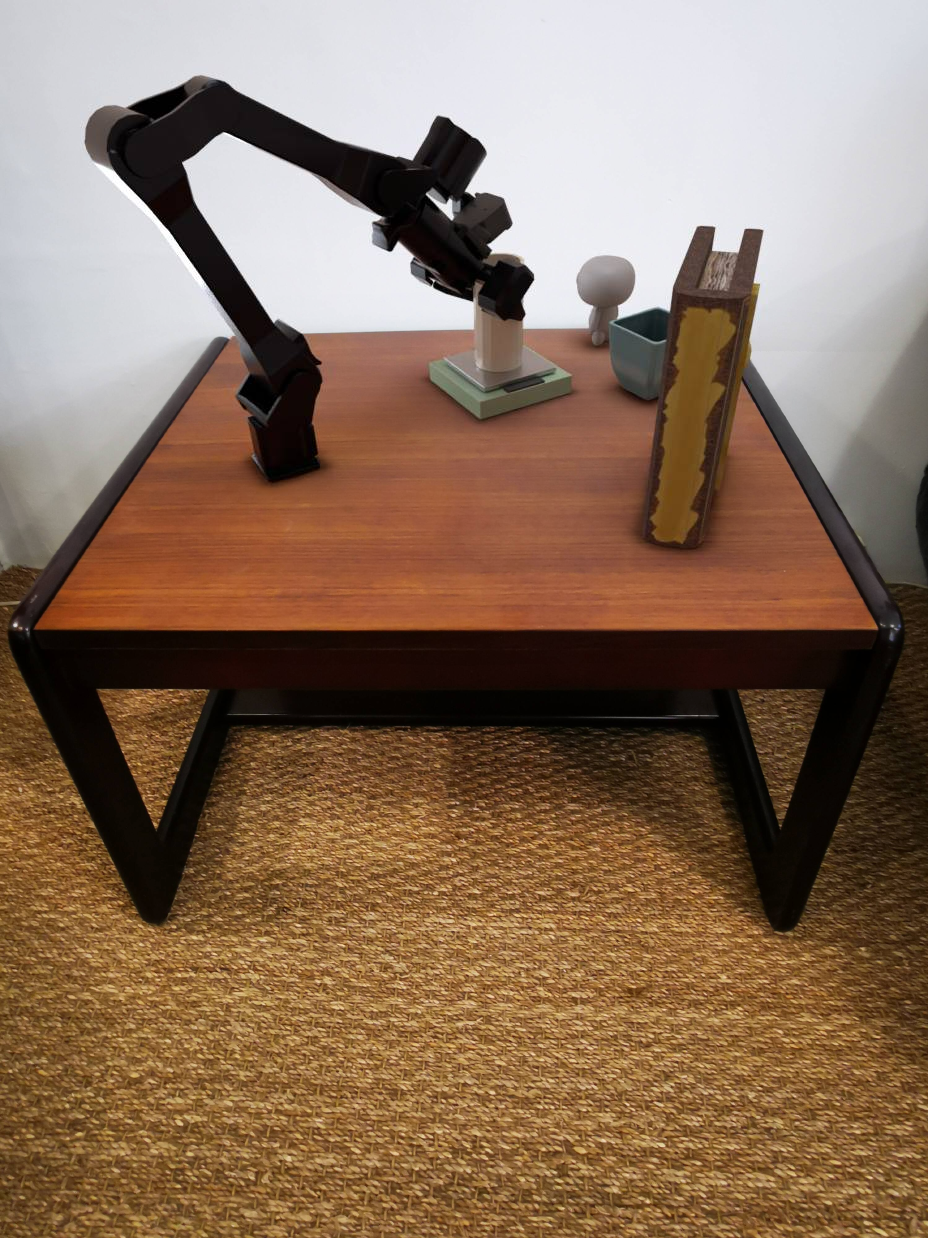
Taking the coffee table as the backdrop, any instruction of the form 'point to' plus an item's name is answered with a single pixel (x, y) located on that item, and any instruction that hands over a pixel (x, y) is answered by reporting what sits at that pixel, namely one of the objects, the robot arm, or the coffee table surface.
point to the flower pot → (639, 350)
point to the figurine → (604, 291)
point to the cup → (497, 332)
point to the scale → (499, 390)
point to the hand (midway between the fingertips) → (506, 310)
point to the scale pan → (492, 380)
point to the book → (699, 385)
